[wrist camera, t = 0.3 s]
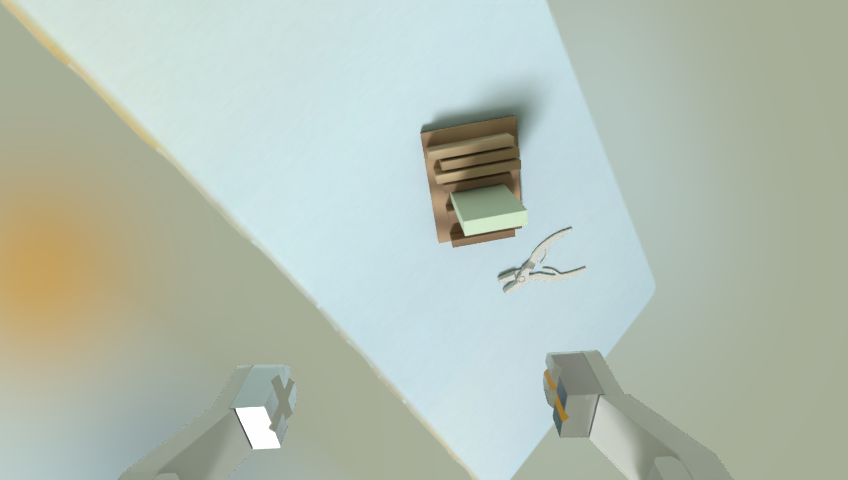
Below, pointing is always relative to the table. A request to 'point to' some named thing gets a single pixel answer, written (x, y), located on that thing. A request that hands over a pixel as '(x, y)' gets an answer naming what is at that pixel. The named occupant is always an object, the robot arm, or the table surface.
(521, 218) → the pale green flat block
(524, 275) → the pliers
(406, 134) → the table surface
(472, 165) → the offcut rack
